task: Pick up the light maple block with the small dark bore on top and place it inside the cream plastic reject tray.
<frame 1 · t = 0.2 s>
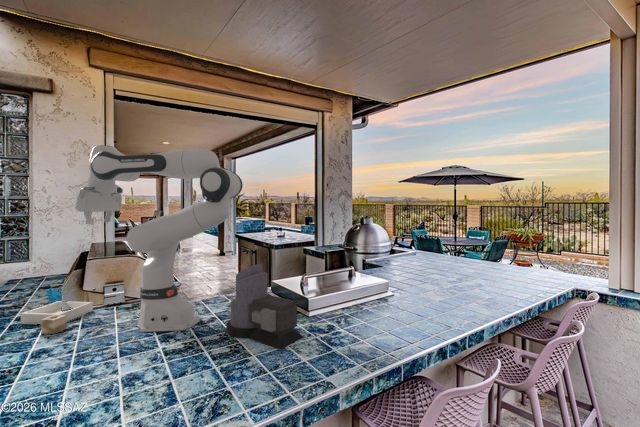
hand: (98, 222, 126), 38 cm above the countertop, tool pointing down, fingers open, 8 cm apart
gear: (58, 304, 148), on the countertop
reject tray: (58, 317, 131), on the countertop
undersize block: (54, 331, 117), on the countertop
juicer: (260, 333, 114), on the countertop
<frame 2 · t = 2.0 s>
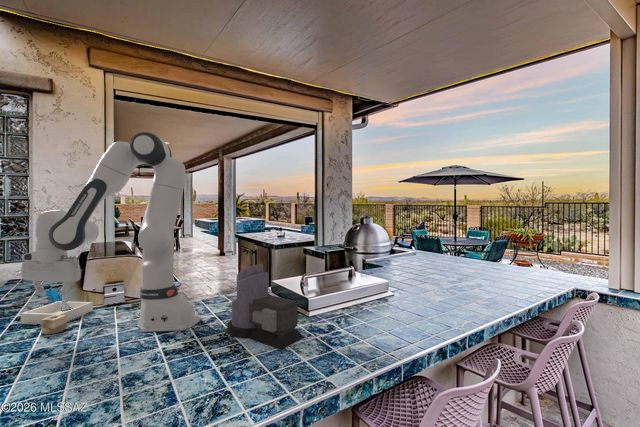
hand: (51, 293, 116), 14 cm above the countertop, tool pointing down, fingers open, 8 cm apart
nothing on the countertop moved.
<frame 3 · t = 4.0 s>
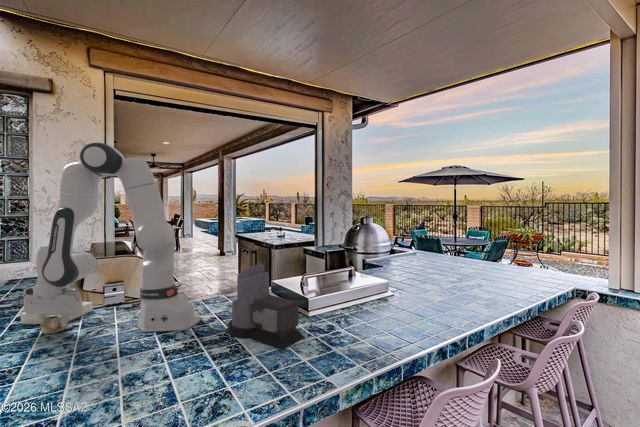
hand: (54, 326, 117), 2 cm above the countertop, tool pointing down, fingers closed on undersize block, 5 cm apart
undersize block: (54, 330, 117), on the countertop, touching gripper
everything else where it was.
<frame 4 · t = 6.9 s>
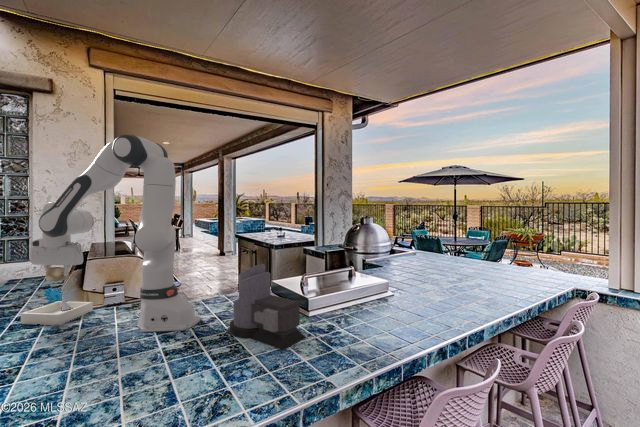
hand: (57, 275, 130), 17 cm above the countertop, tool pointing down, fingers closed on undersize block, 5 cm apart
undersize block: (57, 279, 130), point 15 cm above the countertop, touching gripper
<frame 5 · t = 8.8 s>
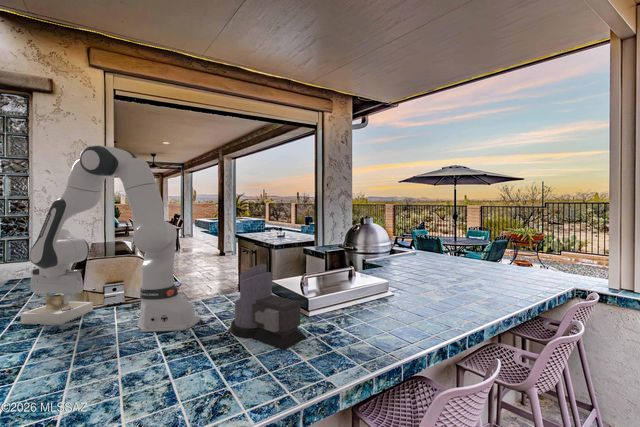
hand: (57, 303, 130), 6 cm above the countertop, tool pointing down, fingers closed on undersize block, 5 cm apart
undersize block: (57, 307, 130), point 4 cm above the countertop, touching gripper
when the fingers open (4 cm above the countertop, at t = 10.1 s): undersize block drops 1 cm, resting on reject tray.
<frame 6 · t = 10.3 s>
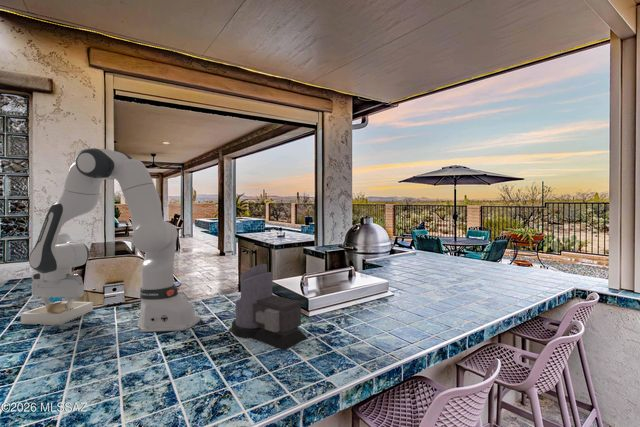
hand: (58, 307, 131), 4 cm above the countertop, tool pointing down, fingers open, 7 cm apart
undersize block: (58, 315, 131), point 1 cm above the countertop, touching reject tray
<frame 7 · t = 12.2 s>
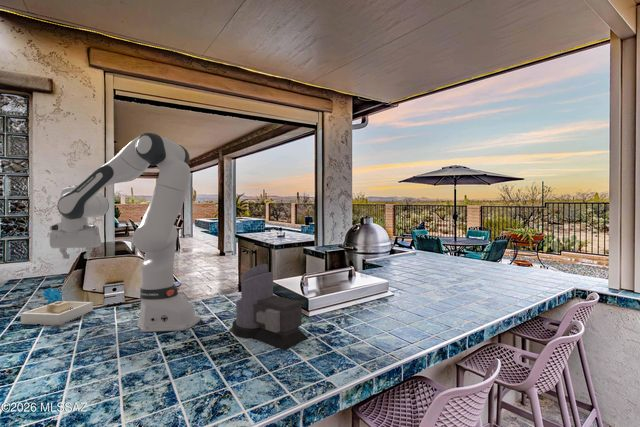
hand: (76, 258, 135), 23 cm above the countertop, tool pointing down, fingers open, 8 cm apart
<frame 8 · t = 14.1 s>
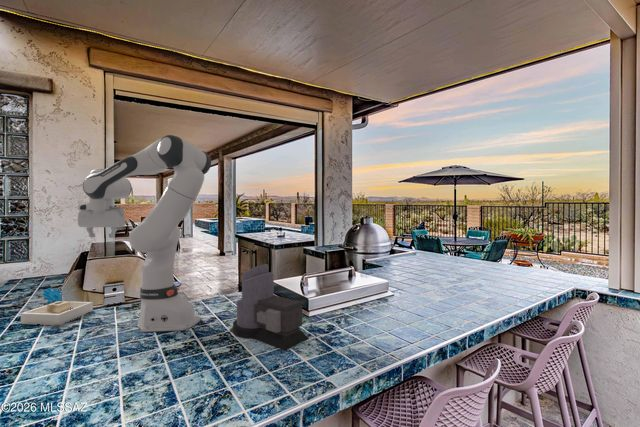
hand: (102, 237, 143), 31 cm above the countertop, tool pointing down, fingers open, 8 cm apart
at the end: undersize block inside the target area on the reject tray (0.1 cm from its centre), point 0.8 cm above the reject tray's base; the gripper is holding nothing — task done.
